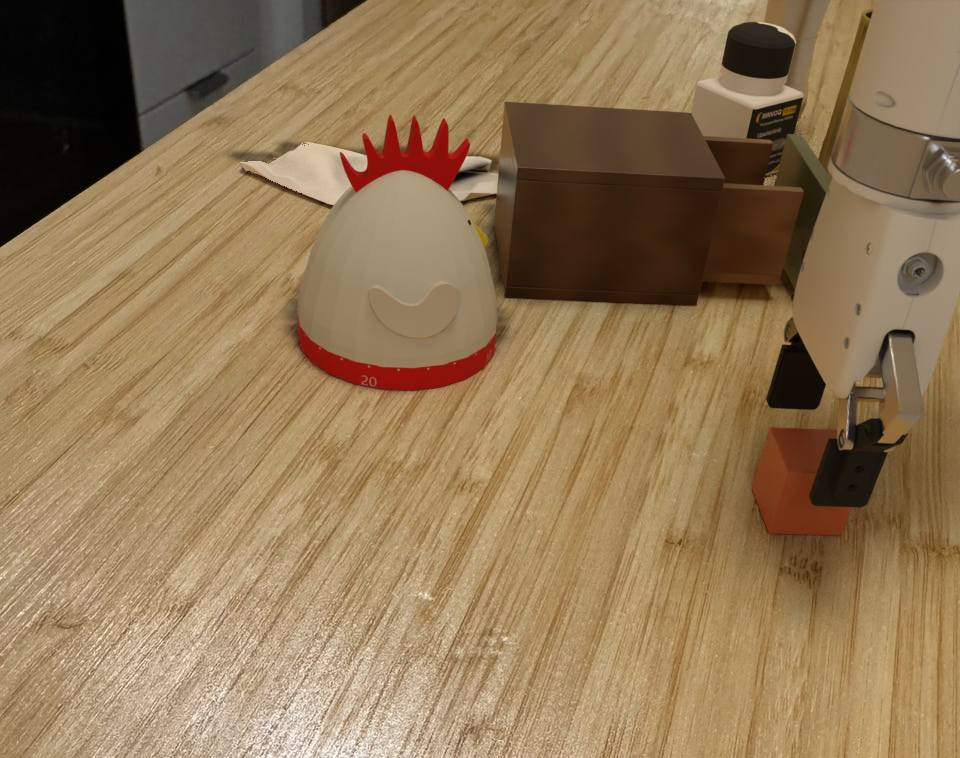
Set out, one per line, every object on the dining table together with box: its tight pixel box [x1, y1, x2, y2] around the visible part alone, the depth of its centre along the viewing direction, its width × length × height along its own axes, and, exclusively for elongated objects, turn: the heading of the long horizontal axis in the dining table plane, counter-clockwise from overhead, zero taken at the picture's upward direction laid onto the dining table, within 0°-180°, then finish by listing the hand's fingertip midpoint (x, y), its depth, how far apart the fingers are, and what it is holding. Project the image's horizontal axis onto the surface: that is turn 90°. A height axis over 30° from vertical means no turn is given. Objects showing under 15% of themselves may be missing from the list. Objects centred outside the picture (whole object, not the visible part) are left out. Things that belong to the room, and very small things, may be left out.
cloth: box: [239, 141, 498, 206], centre depth 98 cm, size 26×14×2 cm, turn 80°
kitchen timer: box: [296, 114, 499, 391], centre depth 75 cm, size 14×14×15 cm
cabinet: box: [493, 101, 725, 307], centre depth 88 cm, size 15×13×10 cm
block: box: [751, 427, 853, 536], centre depth 67 cm, size 4×4×4 cm
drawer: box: [702, 133, 832, 289], centre depth 89 cm, size 21×12×8 cm, turn 93°
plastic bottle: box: [763, 0, 831, 123], centre depth 110 cm, size 6×7×20 cm
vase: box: [817, 8, 874, 179], centre depth 102 cm, size 6×6×14 cm
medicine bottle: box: [690, 21, 803, 177], centre depth 104 cm, size 7×7×12 cm
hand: (812, 452), depth 66 cm, fingers open, 9 cm apart
